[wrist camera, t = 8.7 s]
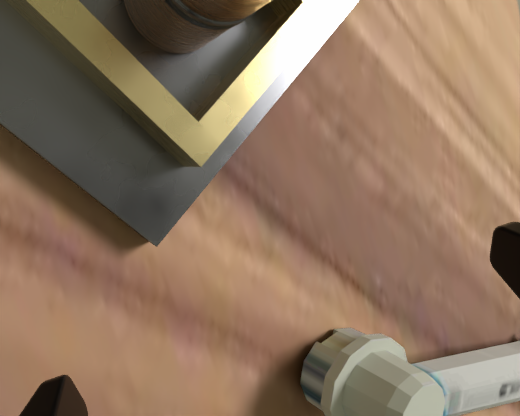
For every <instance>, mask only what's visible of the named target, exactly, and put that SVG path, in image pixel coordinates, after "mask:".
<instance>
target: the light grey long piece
mask: <svg viewBox="0 0 520 416" xmlns="http://www.w3.org/2000/svg"><path fill="white" fill-rule="evenodd" d="M300 384H301V387H302V389H303V392H304V394H305V397H306V400H307V401H309V402H310V403H312V404H313V405H314V406H316V407H317V408H319V409H320V410H322V411H323V412H324V415H325V416H459V415H463V414H467V413H471V412H475V411H479V410H484V409H488V408H492V407H496V406H500V405H504V404H508V403H512V402H517V401H520V340H519V341H517V342H512V343H507V344H503V345H498V346H493V347H489V348H484V349H479V350H475V351H470V352H465V353H461V354H456V355H452V356H447V357H442V358H438V359H433V360H428V361H424V362H419V363H414V364H410V363H408V361H407V357H406V354H405V350H404V348H403V347H402V346H401V345H399V344H398V343H397V342H396V341H394V340H393V339H392V338H390V337H388V336H385V335H383V334H381V333H380V334H370V335H366V334H364V333H362V332H359V331H357V330H355V329H352V328H341V329H334V331H333V335H332V336H330V337H329V338H328V339H326V340H325V341H323V342H322V343H319V342H317V341H316V343H315V344H314V346H313V347H312V349H311V351H310V352H309V354H308V355H307V357H306V358H305V360H304V363H303V369H302V375H301V381H300Z"/></svg>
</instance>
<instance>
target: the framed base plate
mask: <svg viewBox="0 0 520 416" xmlns="http://www.w3.org/2000/svg"><path fill="white" fill-rule="evenodd" d="M358 1H359V0H272V1H270V2H269V3H267V4H266V5H264V6H263V7H261V8H260V9H259V10H258V11H257V12H256V13H255V14H254V15H252V16H251V17H250V18H248V19H247V20H245V21H244V22H242V23H240V24H238V25H237V26H234V27H232V28H230V29H229V30H227V31H226V32H224V33H223V34H221V35H220V36H218V37H217V38H215V39H214V40H212V41H211V42H210V43H208V44H207V45H205V46H204V47H202V48H200V49H198V50H196V51H194V52H190V53H181V54H180V53H172V52H168V51H165V50H162V49H160V48H158V47H156V46H154V45H153V44H152V43H150V42H149V41H148V40H146V39H145V38H144V37H143V36H142V35H141V34H140V33H139V32H138V30H137V29H136V28H135V26H134V25H133V23H132V21H131V20H130V17H129V15H128V13H127V10H126V7H125V3H124V0H0V124H1V125H2V126H3V127H4V128H6V129H7V130H8V131H9V132H11V133H12V134H13V135H15V136H16V137H17V138H18V139H20V140H21V141H22V142H23V143H25V144H26V145H27V146H28V147H30V148H31V149H32V150H34V151H35V152H36V153H37V154H39V155H40V156H41V157H42V158H44V159H45V160H46V161H47V162H49V163H50V164H51V165H53V166H54V167H55V168H56V169H58V170H59V171H60V172H61V173H63V174H64V175H65V176H66V177H68V178H69V179H70V180H72V181H73V182H74V183H75V184H77V185H78V186H79V187H80V188H82V189H83V190H84V191H85V192H87V193H88V194H89V195H91V196H92V197H93V198H94V199H96V200H97V201H98V202H99V203H101V204H102V205H103V206H104V207H106V208H107V209H108V210H110V211H111V212H112V213H113V214H115V215H116V216H117V217H118V218H120V219H121V220H122V221H124V222H125V223H126V224H127V225H129V226H130V227H131V228H132V229H134V230H135V231H136V232H137V233H139V234H140V235H141V236H143V237H144V238H145V239H146V240H148V241H149V242H150V243H152V244H153V245H155V246H158V244H159V243H160V242H161V241H162V240H163V238H164V237H165V236H166V235H167V234H168V232H169V231H170V230H171V229H172V227H173V226H174V225H175V224H176V223H177V221H178V220H179V219H180V218H181V217H182V215H183V214H184V213H185V212H186V210H187V209H188V208H189V207H190V206H191V204H192V203H193V202H194V201H195V199H196V198H197V197H198V196H199V195H200V193H201V192H202V191H203V190H204V189H205V187H206V186H207V185H208V184H209V182H210V181H211V180H212V179H213V178H214V176H215V175H216V174H217V173H218V172H219V170H220V169H221V168H222V167H223V165H224V164H225V163H226V162H227V161H228V159H229V158H230V157H231V156H232V155H233V153H234V152H235V151H236V150H237V148H238V147H239V146H240V145H241V144H242V142H243V141H244V140H245V139H246V137H247V136H248V135H249V134H250V133H251V131H252V130H253V129H254V128H255V127H256V125H257V124H258V123H259V122H260V120H261V119H262V118H263V117H264V116H265V114H266V113H267V112H268V111H269V110H270V108H271V107H272V106H273V105H274V103H275V102H276V101H277V100H278V99H279V97H280V96H281V95H282V94H283V92H284V91H285V90H286V89H287V88H288V86H289V85H290V84H291V83H292V82H293V80H294V79H295V78H296V77H297V75H298V74H299V73H300V72H301V71H302V69H303V68H304V67H305V66H306V65H307V63H308V62H309V61H310V60H311V58H312V57H313V56H314V55H315V54H316V52H317V51H318V50H319V49H320V48H321V46H322V45H323V44H324V43H325V41H326V40H327V39H328V38H329V37H330V35H331V34H332V33H333V32H334V30H335V29H336V28H337V27H338V26H339V24H340V23H341V22H342V21H343V20H344V18H345V17H346V16H347V15H348V13H349V12H350V11H351V10H352V9H353V7H354V6H355V5H356V4H357V3H358Z"/></svg>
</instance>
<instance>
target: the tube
mask: <svg viewBox="0 0 520 416" xmlns="http://www.w3.org/2000/svg"><path fill="white" fill-rule="evenodd" d="M270 1H272V0H124V3H125V7H126V10H127V13H128V15H129V17H130V20H131V21H132V23H133V25H134V26H135V28H136V29H137V30H138V32H139V33H140V34H141V35H142V36H143V37H144V38H145V39H146V40H148V41H149V42H150V43H152V44H153V45H154V46H156V47H158V48H160V49H162V50H165V51H168V52H172V53H180V54H181V53H190V52H194V51H196V50H198V49H200V48H202V47H204V46H205V45H207V44H208V43H210V42H211V41H212V40H214V39H215V38H217V37H218V36H220V35H221V34H223V33H224V32H226V31H227V30H229V29H230V28H232V27H234V26H237V25H238V24H240V23H242V22H244V21H245V20H247V19H248V18H250V17H251V16H252V15H254V14H255V13H256V12H257V11H258V10H259V9H260V8H261V7H263V6H264V5H266V4H267V3H269V2H270Z"/></svg>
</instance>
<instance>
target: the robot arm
mask: <svg viewBox="0 0 520 416" xmlns="http://www.w3.org/2000/svg"><path fill="white" fill-rule="evenodd" d="M490 262H491V264H492V266H493V268H494V269H495V270H496V272H497V273H498V274H499V275H500V276H501V277H502V279H503V280H504V281H505V282H506V283H507V285H508V286H509V287H510V288H511V289H512V290H513V292H514V293H515V294H516V295H517V296H518V298H519V299H520V223H519V222H510V223H507V224H504V225H501V226H498V227H497V228H495V230H494V232H493V237H492V244H491V251H490ZM19 416H88V411H87V407H86V404H85V402H84V400H83V398H82V396H81V395H80V393H79V391H78V390H77V388H76V386H75V385H74V383H73V381H72V380H71V378H70V377H69V376H68V375H61V376H58V377H55V378H52V379H49V380H47V381H45V382H43V383H42V384H41V385H40V386H39V387H38V389H37V390H36V392H35V393H34V395H33V396H32V398H31V399H30V401H29V402H28V404H27V405H26V406H25V408H24V409H23V411H22V412H21V414H20V415H19Z"/></svg>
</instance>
